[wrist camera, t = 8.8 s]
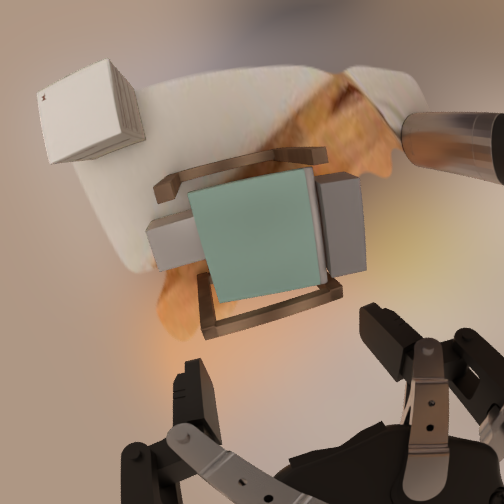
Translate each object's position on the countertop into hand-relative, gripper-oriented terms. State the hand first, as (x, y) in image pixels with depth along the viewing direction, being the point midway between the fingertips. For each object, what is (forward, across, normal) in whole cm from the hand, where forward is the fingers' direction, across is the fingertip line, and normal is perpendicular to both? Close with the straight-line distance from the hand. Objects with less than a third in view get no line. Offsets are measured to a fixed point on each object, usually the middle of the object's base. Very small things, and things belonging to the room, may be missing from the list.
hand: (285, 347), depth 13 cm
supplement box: (+25, +11, -16) cm, 31 cm away
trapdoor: (+17, -5, 0) cm, 17 cm away
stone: (+22, +3, 0) cm, 23 cm away
